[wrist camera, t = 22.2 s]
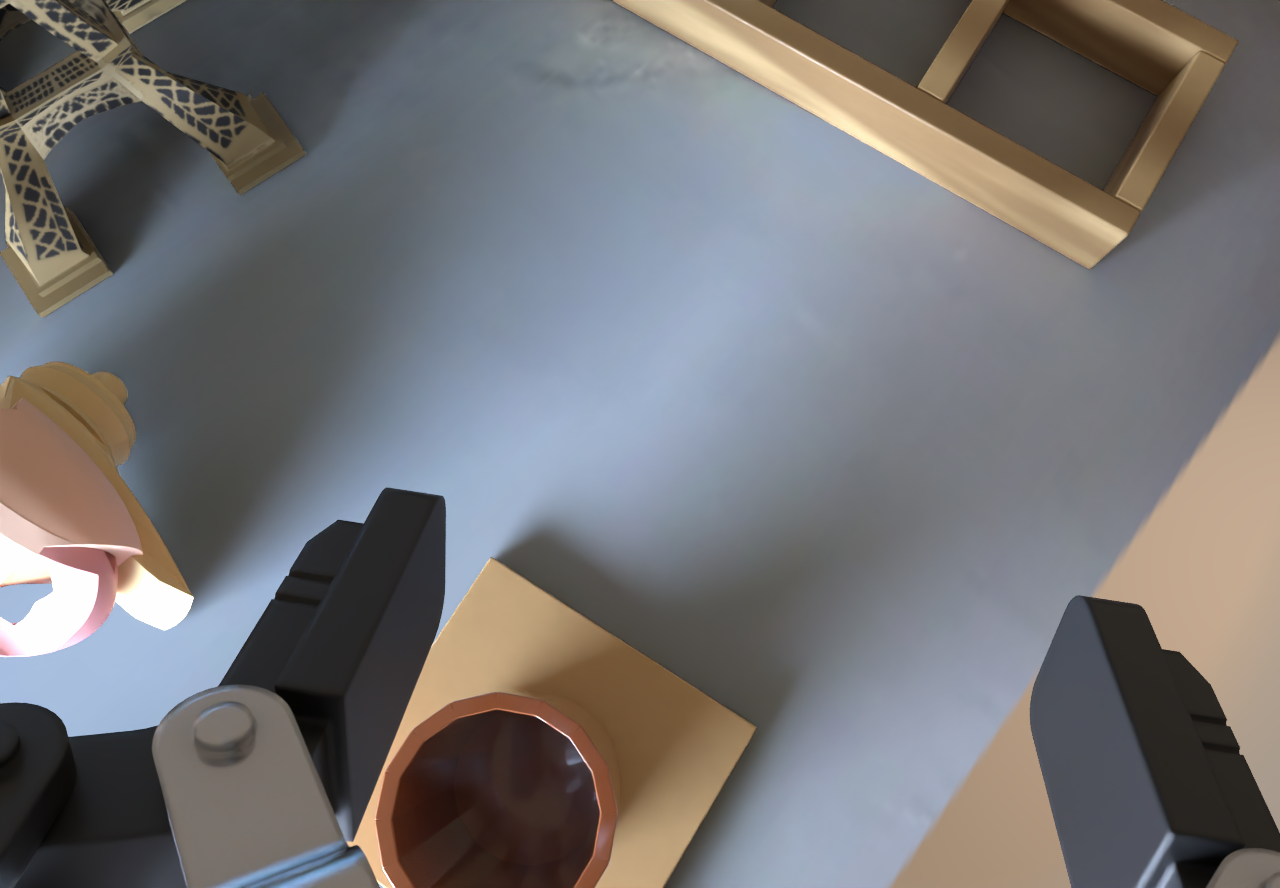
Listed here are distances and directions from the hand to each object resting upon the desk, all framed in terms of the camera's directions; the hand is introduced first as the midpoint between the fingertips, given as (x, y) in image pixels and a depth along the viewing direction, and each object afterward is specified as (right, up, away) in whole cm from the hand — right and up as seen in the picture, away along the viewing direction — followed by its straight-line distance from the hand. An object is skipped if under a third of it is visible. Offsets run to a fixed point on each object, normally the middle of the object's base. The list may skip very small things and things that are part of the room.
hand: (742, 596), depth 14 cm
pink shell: (-19, -1, +22) cm, 29 cm away
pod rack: (+7, +17, +26) cm, 32 cm away
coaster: (-5, -9, +20) cm, 22 cm away
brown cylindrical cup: (-5, -8, +19) cm, 21 cm away
